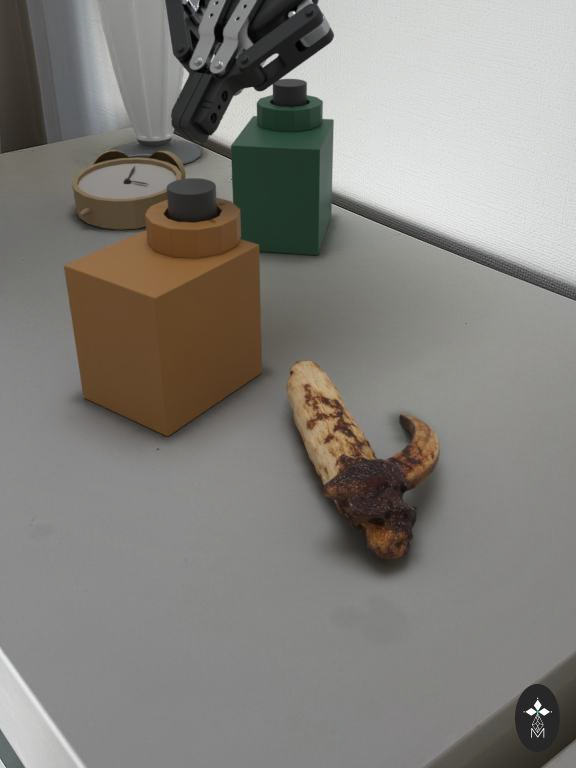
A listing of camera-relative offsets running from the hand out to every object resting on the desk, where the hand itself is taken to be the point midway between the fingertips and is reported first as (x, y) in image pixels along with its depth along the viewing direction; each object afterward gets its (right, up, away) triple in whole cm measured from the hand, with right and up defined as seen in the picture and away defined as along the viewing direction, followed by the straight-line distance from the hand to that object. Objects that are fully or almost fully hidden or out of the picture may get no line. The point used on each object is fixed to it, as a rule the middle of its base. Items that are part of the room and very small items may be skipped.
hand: (187, 134), depth 55 cm
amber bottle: (-2, -16, +7) cm, 17 cm away
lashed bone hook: (+11, -21, -1) cm, 24 cm away
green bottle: (+6, -1, +31) cm, 32 cm away
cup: (-10, +13, +53) cm, 56 cm away
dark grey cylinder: (0, -5, +3) cm, 6 cm away
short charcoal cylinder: (+7, +11, +28) cm, 30 cm away
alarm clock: (-10, +3, +38) cm, 40 cm away
